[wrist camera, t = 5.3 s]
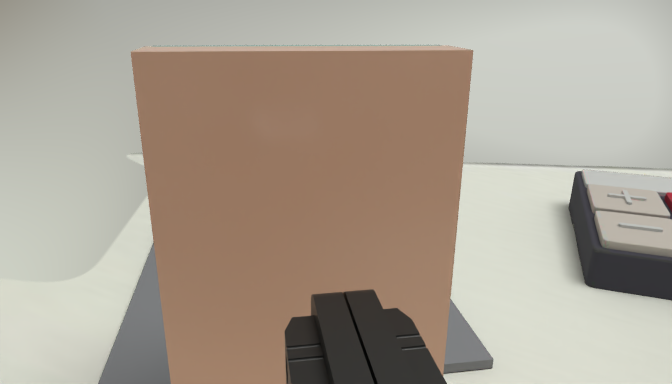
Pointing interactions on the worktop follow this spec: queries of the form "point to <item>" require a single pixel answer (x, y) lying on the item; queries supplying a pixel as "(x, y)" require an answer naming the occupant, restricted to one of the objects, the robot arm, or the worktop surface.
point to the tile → (297, 191)
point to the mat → (151, 353)
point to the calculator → (624, 231)
